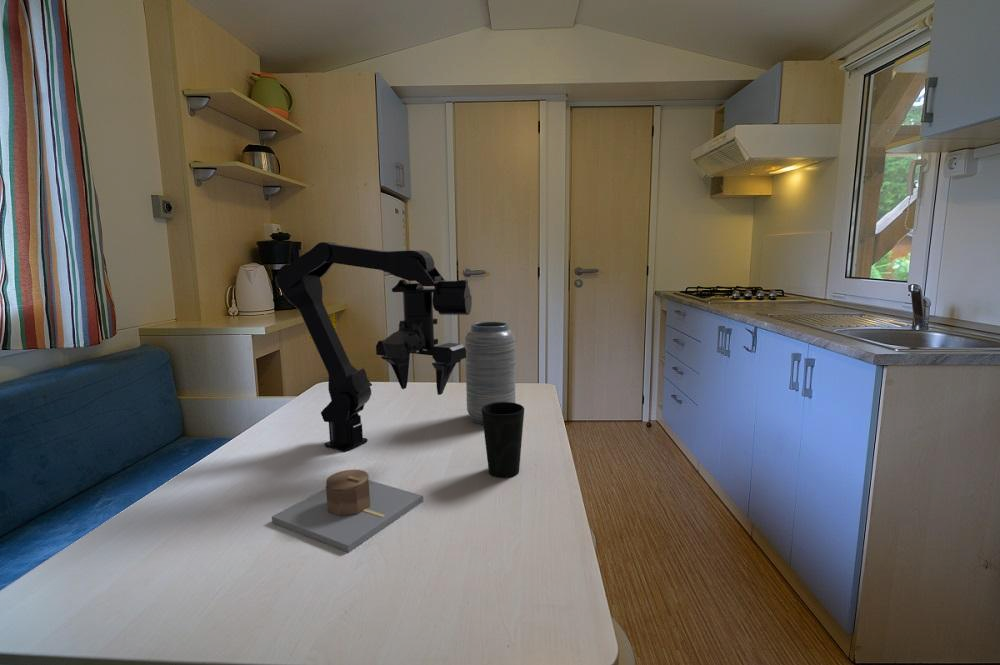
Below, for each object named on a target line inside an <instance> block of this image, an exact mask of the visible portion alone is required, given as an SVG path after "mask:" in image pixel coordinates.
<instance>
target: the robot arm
mask: <svg viewBox="0 0 1000 665" xmlns="http://www.w3.org/2000/svg"><path fill="white" fill-rule="evenodd" d="M334 264H338V265H345V266H350V267H351V266H352V267H357V268H358V267H360V268H365V269H372V270H377V271H382V272H385V273H387V274H390V275H392V276H394V277H397V278H400V279H399V280H398V282H397V284H396V285H395V286H394V287H393V288H391V292H392V293H402V303H403V304H402V305H403V307H402V308H403V320H399V323H398V330H397V331H394V332H393V333H391V334H390V335H389V336H388V337H386V338H385V339H380V340H378V341H377V343H376V345H375V352H376V353H375V354H376V356H377V355H378V356H380V358H381V359H382V360H385V361H386V362H387V363H388V364H390V366H391V367H392V369H393V371H394V373H395V376H396V379H397V381H398V383H399V385H400V389H402V390H405V389H407V386H408V380H409V369H410V367H409V366H410V354H413V355H414V354H415V355H416V354H417V355H424V356H432V357H431V358H432V359H433V360H434V362H432V363H431V364H432V366H433V368H434V369H435V376H436V377H435V378H436V393H437V395H438V396H440V395H442V394H443V393H444V391H445V388H446V387H447V383H448V381H449V378H450V376H451V375H452V372H453V370H454V368H455V366H456V364H458V363H460V362H461V360H463V359H466V349H465V345H464V344H463V343H456V342H455V343H452V342H446V343H443V344H439V338H435V331H434V326H435V325H438V318H434V311H433V310H435V311H436V312H438V314H439V315H440V316H443V315H444V316H469V315H471V310H472V302H473V301H472V300H473V299H472V294H471V289H470V286H469V281H468V279H459V280H445V278H444V277H443V276H442V275H441V273H440V272H439V270H438V269H437V268H436V267H435V261H434V258H433V256H432V254H430V252H428V251H425V250H420V249H419V250H418V249H417V250H394V251H391V250H390V251H387V250H380V249H373V248H366V247H358V246H351V245H345V244H344V245H343V244H338V243H336V242H332V241H322V242H321V241H320V242H318V243H317V244H316V245H315V246H313V247H312V248H310V249H309V250H308V251H307V252H305V253H304V254H302V255H300V256H299V257H297V258H296V259H294V260H293V261H291V262H290V263H288V264H284V265H282V266H281V267H280V268H279V269H278V271H277V272H276V276H275V283H276V285H277V287H278V288H279V290H280V291H281V293H282V294H283V296H284V297H285V299H286V300H287V301H288V302H289V303H290V304H291V305H293V306H294V307H295V308H296V309H297V310H298V312H299V313H300V315H301V318H302V319H303V323H304V324H305V326H306V328H307V330H308V332H309V336H310V337H311V339H312V341H313V343H314V345H315V348H316V350H317V352H318V354H319V356H320V358H321V361H322V363H323V365H324V367H325V370H326V372H327V375H328V390H327V391H328V393H329V396H330V402H329V403H328V404H327V405H326V406H325V408H323V409H322V410H321V411H320V414H321V417H322V419H323V421H324V422H325V423H328V430H329V432H328V433H329V441H325V442H324V444H323V446H324V447H327V448H331V449H335V450H339V451H343V452H347V451H350V450H352V449H353V448H357V447H358V446H359V445H363V444H365V443H367V442H368V441H369V440H368V438H366V437H364V436H363V434H364V433H363V423H362V420H361V419H362V418H361V415H359V413H360V412H362V411H363V410H364V409H365V405H366V404H367V403H368V402H369V400H370V398H371V397H372V387H371V386H373V384H372V382H370V380H369V378H368V376H367V372H366V370H365V368H361V369H359V370H358V369H356V368H355V367H354V366H353V365H352V363H351V362H350V360H349V357H348V355H347V352H346V350H345V349H344V346H343V345H342V342H341V340H340V338H339V335H338V333H337V332H336V329H335V327H334V325H333V323H332V322H333V321H332V320H331V318H330V316H329V314H328V311H327V309H326V307H325V305H324V302H323V285H322V281H321V278H322V277H323V276H325V275H326V274H327V273H328V271H329V270H330V269H331V267H332V266H333V265H334ZM408 281H410V282H412V283H410V282H408ZM413 281H415V283H413ZM427 287H428V288H427ZM438 344H439V345H438Z"/></svg>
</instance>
